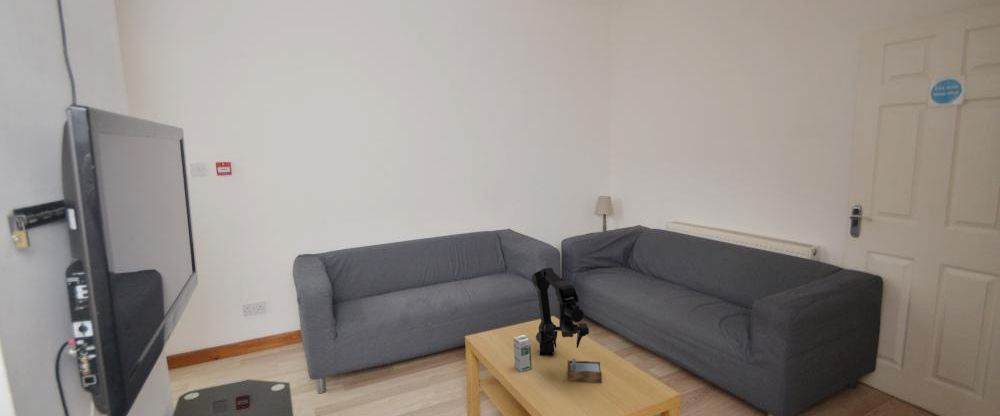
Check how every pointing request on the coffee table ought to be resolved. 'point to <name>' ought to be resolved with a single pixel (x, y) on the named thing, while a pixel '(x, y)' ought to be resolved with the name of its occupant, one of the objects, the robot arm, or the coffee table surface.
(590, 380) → the pencil box
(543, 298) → the robot arm
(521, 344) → the syrup box
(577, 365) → the cover plate
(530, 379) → the coffee table surface
